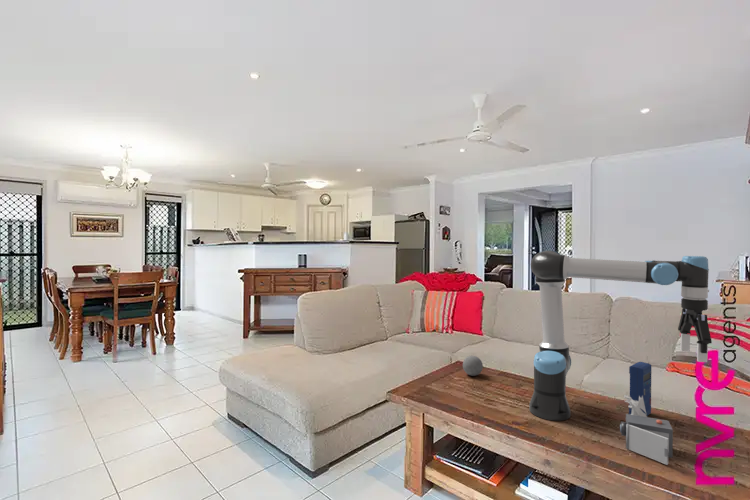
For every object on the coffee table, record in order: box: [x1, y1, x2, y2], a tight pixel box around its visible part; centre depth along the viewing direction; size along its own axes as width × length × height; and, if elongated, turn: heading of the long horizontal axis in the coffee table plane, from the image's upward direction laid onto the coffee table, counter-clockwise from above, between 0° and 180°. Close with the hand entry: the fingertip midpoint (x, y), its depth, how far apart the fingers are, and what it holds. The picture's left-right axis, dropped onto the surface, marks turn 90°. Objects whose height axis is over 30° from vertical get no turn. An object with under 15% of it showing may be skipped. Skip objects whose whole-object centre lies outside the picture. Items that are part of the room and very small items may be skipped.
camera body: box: [619, 413, 674, 458], centre depth 132 cm, size 14×7×10 cm, turn 63°
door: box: [625, 424, 669, 466], centre depth 126 cm, size 12×2×8 cm, turn 33°
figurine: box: [623, 394, 648, 417], centre depth 148 cm, size 11×8×12 cm
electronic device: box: [628, 361, 652, 417], centre depth 156 cm, size 10×5×20 cm, turn 127°
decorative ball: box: [462, 355, 484, 377], centre depth 203 cm, size 10×10×10 cm
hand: (693, 356), depth 145 cm, fingers open, 13 cm apart
